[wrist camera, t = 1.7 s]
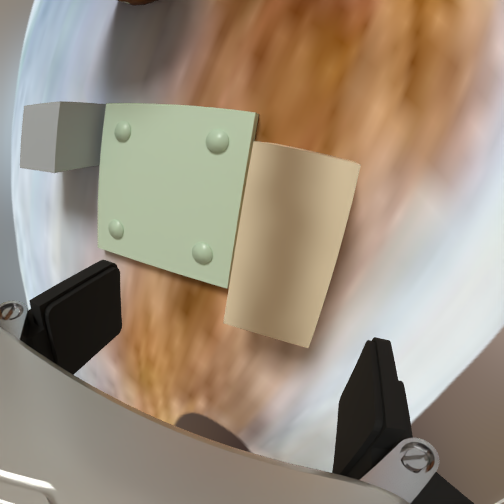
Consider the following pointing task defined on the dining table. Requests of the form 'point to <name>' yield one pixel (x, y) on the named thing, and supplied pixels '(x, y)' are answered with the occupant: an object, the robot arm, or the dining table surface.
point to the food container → (137, 2)
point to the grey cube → (61, 136)
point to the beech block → (288, 240)
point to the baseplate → (174, 186)
